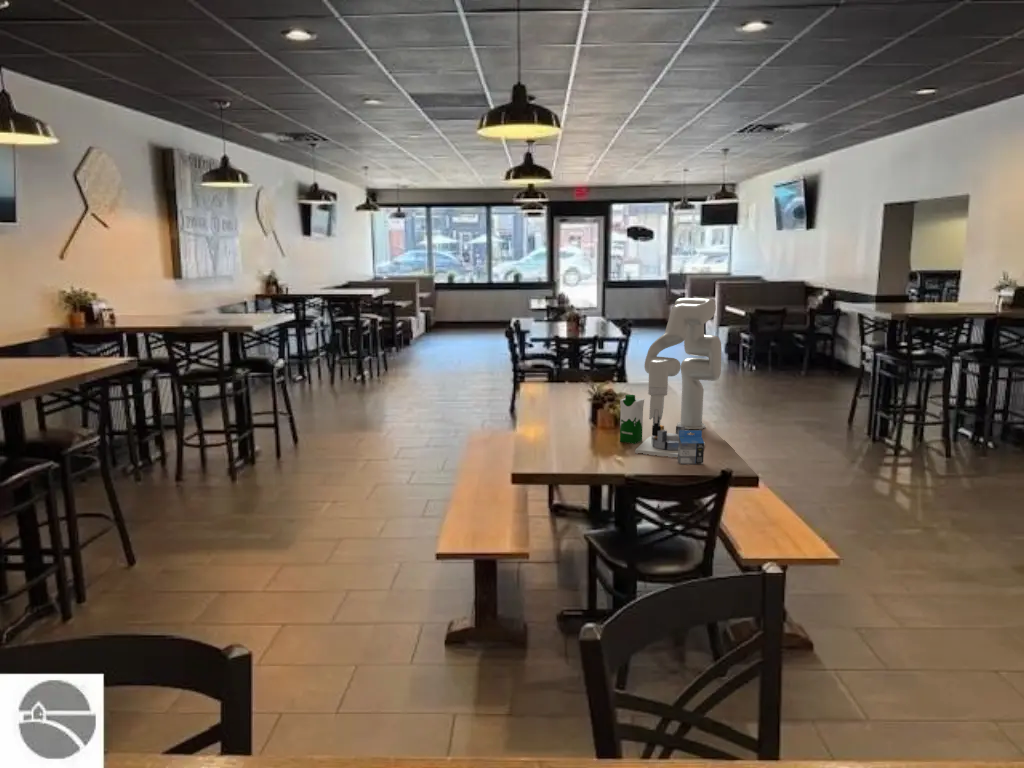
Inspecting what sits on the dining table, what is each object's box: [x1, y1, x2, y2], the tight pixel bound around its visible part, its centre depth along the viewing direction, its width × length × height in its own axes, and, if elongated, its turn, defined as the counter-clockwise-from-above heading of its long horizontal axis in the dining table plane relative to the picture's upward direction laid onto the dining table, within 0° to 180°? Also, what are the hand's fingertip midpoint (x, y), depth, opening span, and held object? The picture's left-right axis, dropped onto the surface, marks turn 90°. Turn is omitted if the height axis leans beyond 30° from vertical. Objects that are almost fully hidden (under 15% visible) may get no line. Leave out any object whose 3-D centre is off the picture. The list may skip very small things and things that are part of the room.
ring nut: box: [651, 424, 690, 450], centre depth 295 cm, size 15×15×7 cm
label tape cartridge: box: [677, 429, 705, 465], centre depth 276 cm, size 9×4×12 cm, turn 91°
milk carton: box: [619, 394, 645, 445], centre depth 307 cm, size 9×9×20 cm
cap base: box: [634, 432, 706, 458], centre depth 295 cm, size 23×23×6 cm
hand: (656, 435), depth 296 cm, fingers closed
